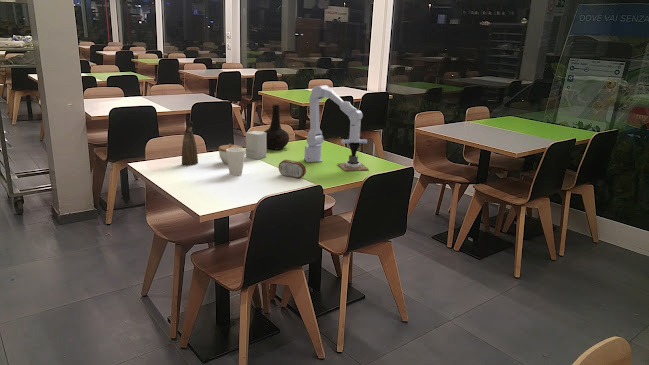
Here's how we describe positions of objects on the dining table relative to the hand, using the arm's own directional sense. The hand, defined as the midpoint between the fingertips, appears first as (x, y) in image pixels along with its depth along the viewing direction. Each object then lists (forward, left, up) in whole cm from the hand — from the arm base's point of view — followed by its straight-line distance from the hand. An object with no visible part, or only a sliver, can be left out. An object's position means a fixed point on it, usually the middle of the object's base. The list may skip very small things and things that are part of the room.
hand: (353, 155), depth 271 cm
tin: (-38, -14, -7) cm, 41 cm away
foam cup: (-66, -6, -7) cm, 67 cm away
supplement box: (-51, +29, -7) cm, 59 cm away
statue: (-89, +17, -7) cm, 91 cm away
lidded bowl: (-67, +17, -7) cm, 69 cm away
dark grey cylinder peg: (0, 0, -6) cm, 6 cm away
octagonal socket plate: (0, 0, -7) cm, 7 cm away
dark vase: (-36, +52, -7) cm, 64 cm away
